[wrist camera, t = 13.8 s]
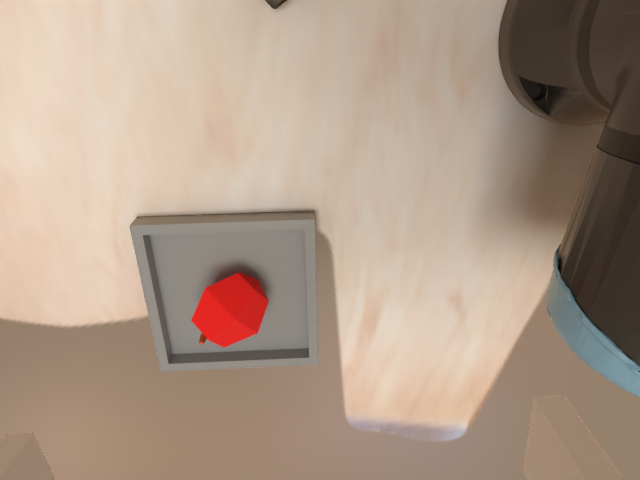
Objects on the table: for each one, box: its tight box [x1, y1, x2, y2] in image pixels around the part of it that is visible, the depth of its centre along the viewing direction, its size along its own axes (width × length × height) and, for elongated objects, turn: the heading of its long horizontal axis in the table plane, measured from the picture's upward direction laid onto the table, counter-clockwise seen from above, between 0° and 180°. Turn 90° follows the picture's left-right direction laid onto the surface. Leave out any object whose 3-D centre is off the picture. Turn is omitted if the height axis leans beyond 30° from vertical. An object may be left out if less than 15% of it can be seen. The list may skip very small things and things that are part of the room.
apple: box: [191, 272, 269, 348], centre depth 43 cm, size 7×7×8 cm
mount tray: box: [130, 211, 319, 372], centre depth 45 cm, size 17×17×2 cm
